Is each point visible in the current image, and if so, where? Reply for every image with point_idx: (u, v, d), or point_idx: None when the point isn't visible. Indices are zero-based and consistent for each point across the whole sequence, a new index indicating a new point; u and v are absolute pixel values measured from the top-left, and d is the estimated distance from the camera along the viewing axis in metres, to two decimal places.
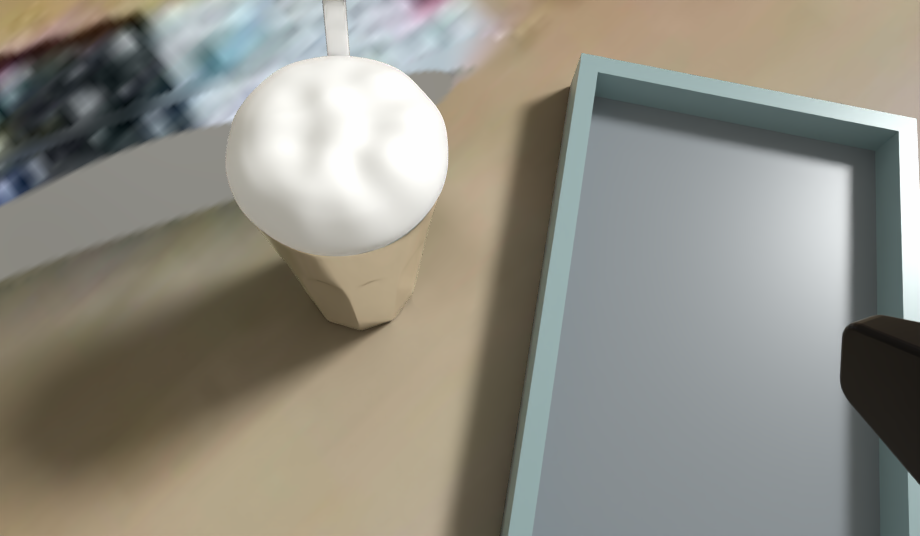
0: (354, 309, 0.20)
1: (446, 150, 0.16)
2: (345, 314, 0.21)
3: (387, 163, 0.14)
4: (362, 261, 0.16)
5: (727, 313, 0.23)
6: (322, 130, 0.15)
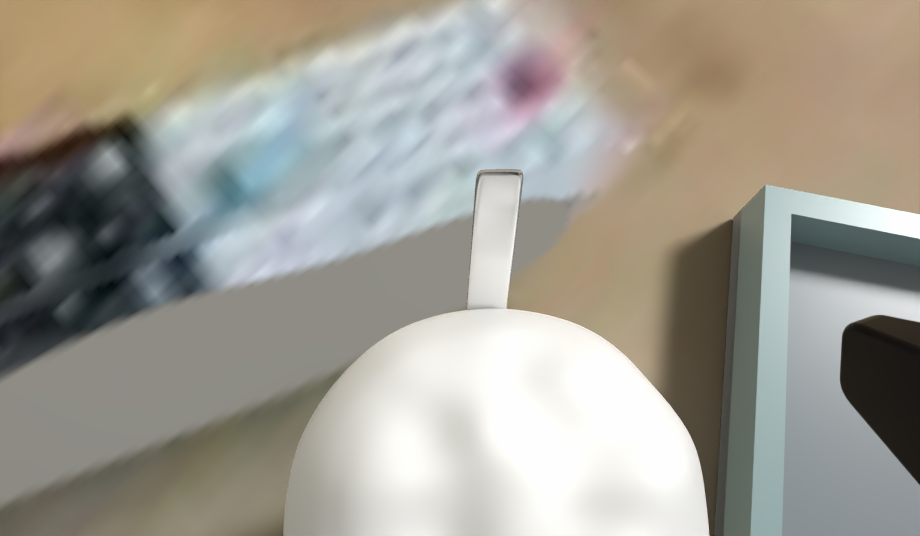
0: None
1: None
2: None
3: None
4: None
5: None
6: (487, 516, 0.07)
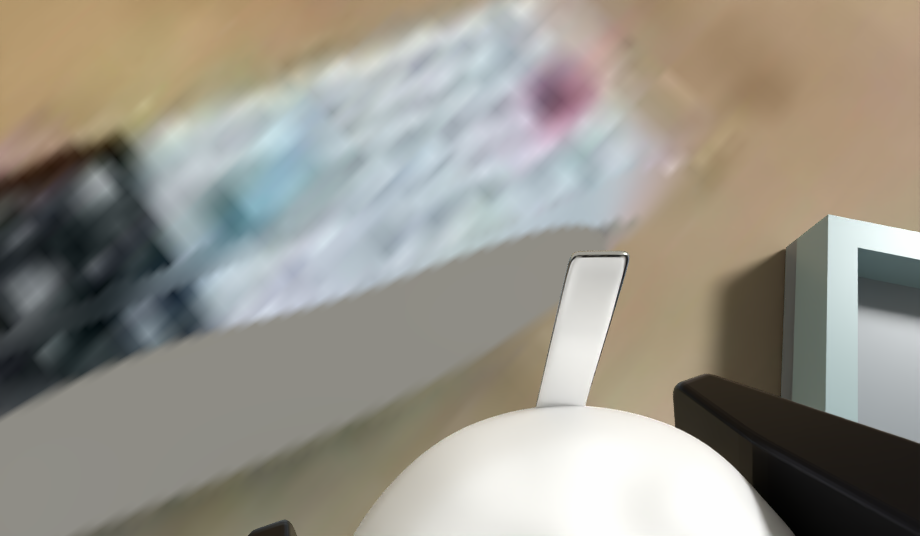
0: None
1: None
2: None
3: None
4: None
5: None
6: None
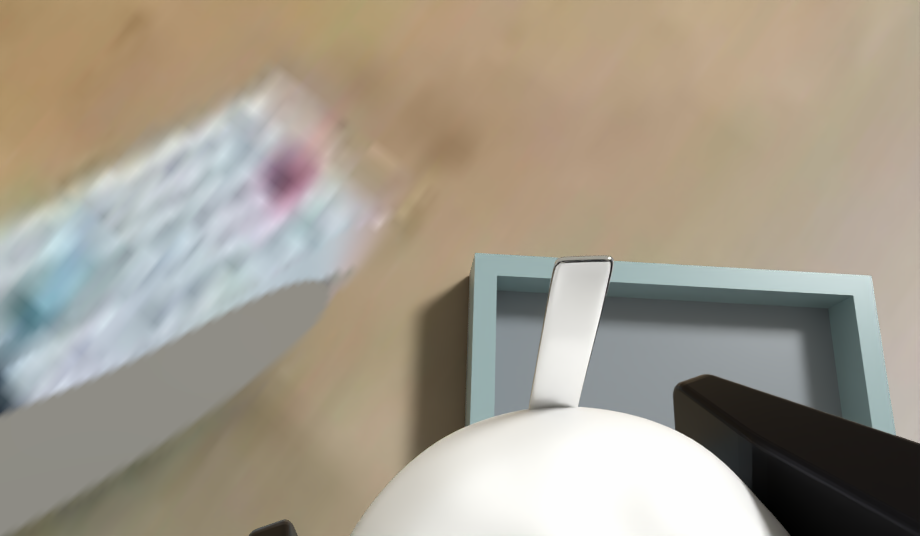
0: None
1: None
2: None
3: None
4: None
5: None
6: None
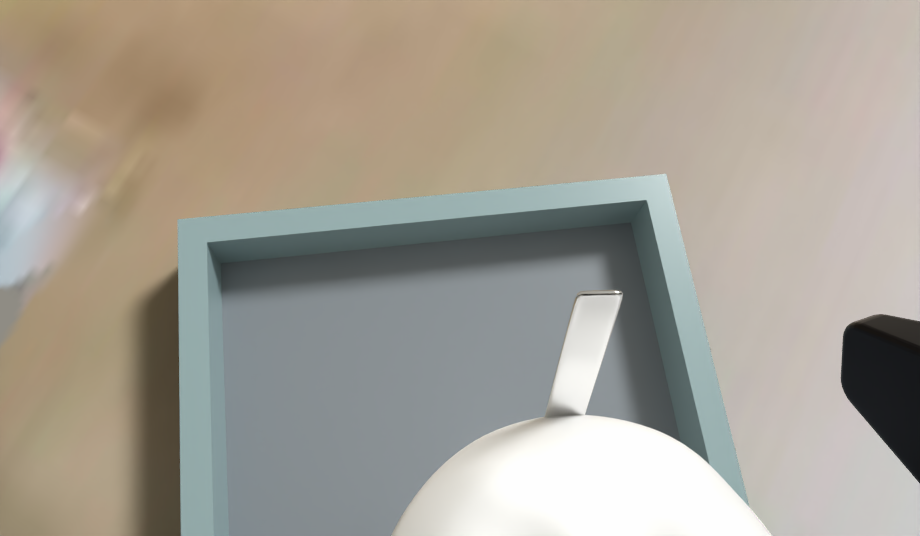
0: None
1: None
2: None
3: None
4: None
5: None
6: None
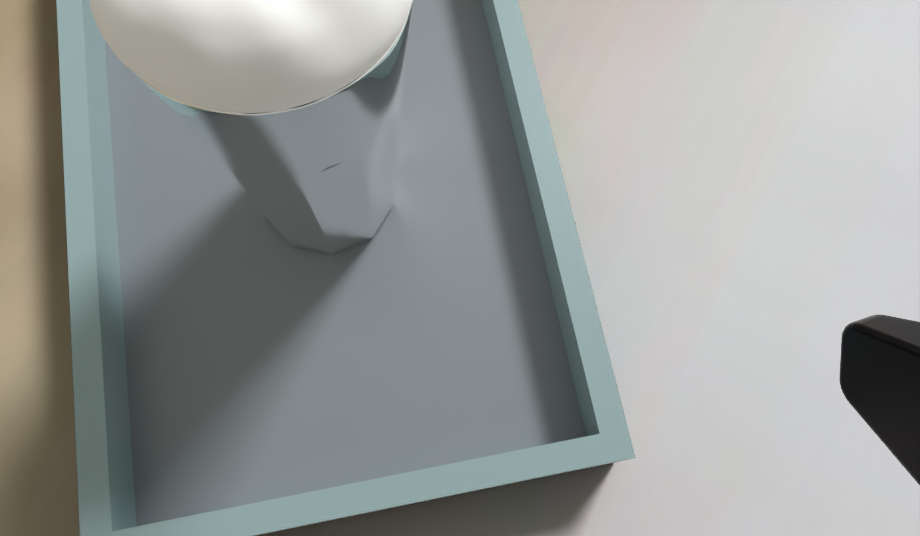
0: (316, 218, 0.15)
1: None
2: (307, 229, 0.16)
3: None
4: (305, 124, 0.11)
5: None
6: None
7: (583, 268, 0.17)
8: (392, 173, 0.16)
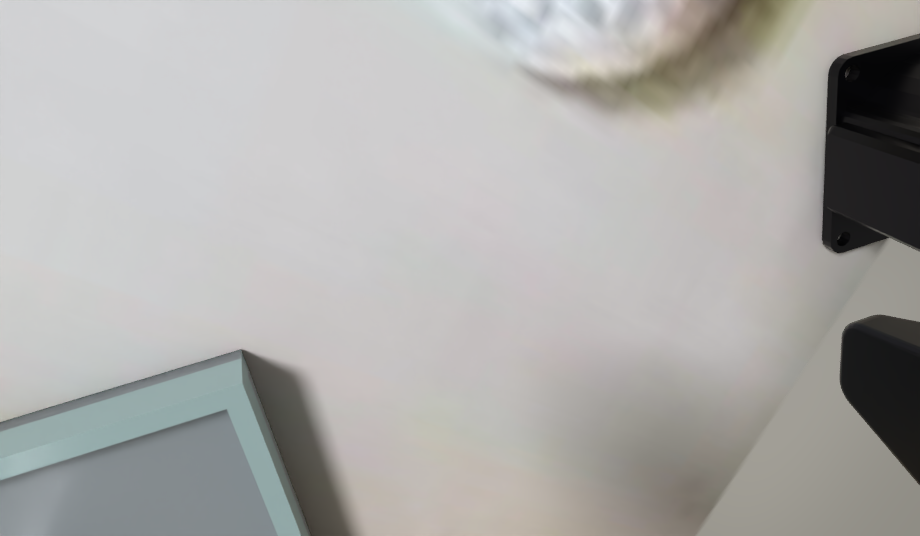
0: None
1: None
2: None
3: None
4: None
5: None
6: None
7: (79, 436, 0.19)
8: None
